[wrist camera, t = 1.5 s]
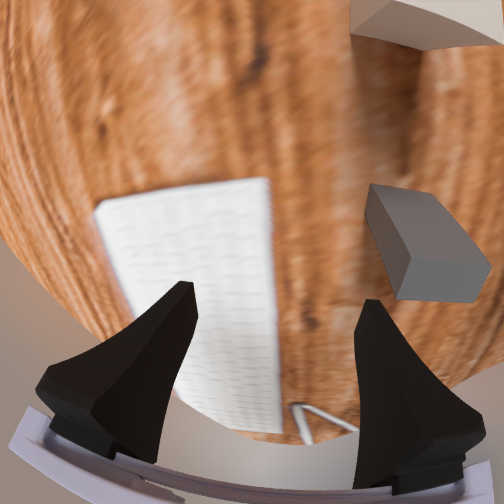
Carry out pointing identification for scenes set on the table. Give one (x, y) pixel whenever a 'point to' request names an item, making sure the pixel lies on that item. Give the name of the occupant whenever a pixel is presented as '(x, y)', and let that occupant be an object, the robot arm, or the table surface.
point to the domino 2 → (424, 247)
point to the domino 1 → (429, 22)
